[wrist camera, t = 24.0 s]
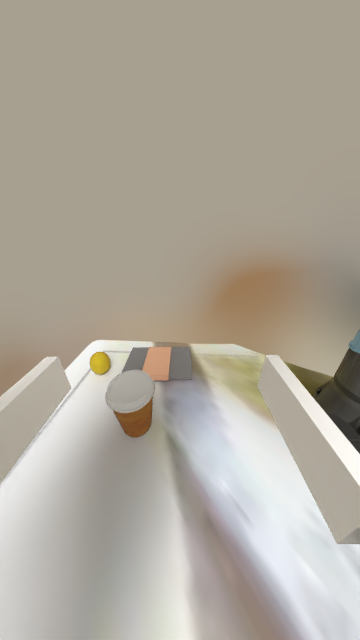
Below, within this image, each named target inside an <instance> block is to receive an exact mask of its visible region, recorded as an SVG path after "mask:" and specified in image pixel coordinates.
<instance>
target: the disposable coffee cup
mask: <svg viewBox="0 0 360 640" xmlns="http://www.w3.org/2000/svg"><path fill="white" fill-rule="evenodd" d="M154 390H155V385H154V381H153V379H152V378H151V377H150V376H149V374H147V373H146V372H144V371H141V370H130V371H126V372H123V373H121V374H119V375H117V376H116V377H115V378H114V379H113V380H112V381H111V382H110V384H109V386H108V388H107V392H106V402H107V405H108V406H109V407H110V408H111V409H113V411H114V413H115V415H116V417H117V418H118V420H119V422H120V424H121V426H122V428H123V430H124V432H125V433H126V434H127V435H128V436H130V437H139V436H142V435H143V434H145V433H146V432H147V431H148V429H149V428H150V426H151V420H152V399H153V394H154Z"/></svg>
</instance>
